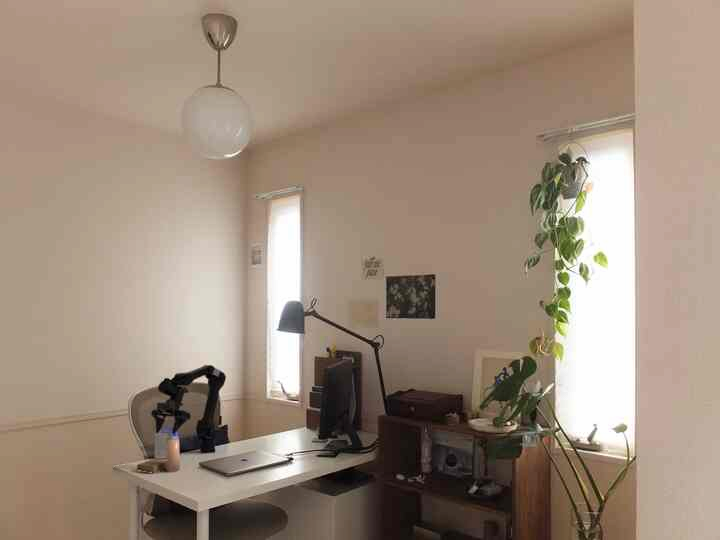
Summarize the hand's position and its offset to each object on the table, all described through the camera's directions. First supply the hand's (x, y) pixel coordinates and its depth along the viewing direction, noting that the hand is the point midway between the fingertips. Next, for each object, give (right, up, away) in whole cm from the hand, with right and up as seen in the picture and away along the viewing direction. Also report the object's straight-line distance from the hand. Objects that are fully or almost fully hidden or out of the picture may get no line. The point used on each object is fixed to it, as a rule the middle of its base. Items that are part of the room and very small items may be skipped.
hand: (164, 433), depth 249 cm
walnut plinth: (-3, -15, -4) cm, 16 cm away
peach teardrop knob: (+6, -14, -7) cm, 17 cm away
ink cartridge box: (-5, -17, +17) cm, 24 cm away
